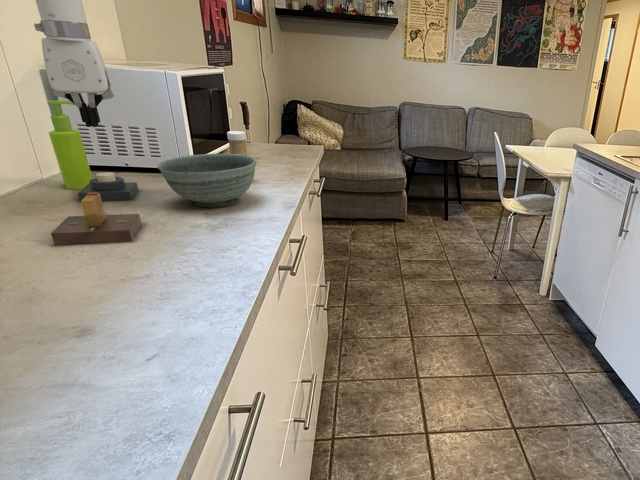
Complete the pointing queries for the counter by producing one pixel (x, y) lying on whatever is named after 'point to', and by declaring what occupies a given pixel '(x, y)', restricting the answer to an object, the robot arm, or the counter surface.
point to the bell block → (111, 190)
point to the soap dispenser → (69, 149)
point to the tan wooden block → (93, 209)
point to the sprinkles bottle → (237, 142)
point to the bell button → (105, 177)
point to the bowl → (209, 177)
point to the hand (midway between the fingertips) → (92, 125)
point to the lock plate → (97, 230)
